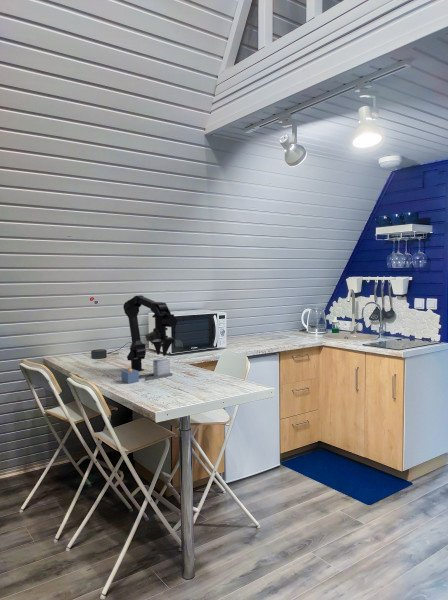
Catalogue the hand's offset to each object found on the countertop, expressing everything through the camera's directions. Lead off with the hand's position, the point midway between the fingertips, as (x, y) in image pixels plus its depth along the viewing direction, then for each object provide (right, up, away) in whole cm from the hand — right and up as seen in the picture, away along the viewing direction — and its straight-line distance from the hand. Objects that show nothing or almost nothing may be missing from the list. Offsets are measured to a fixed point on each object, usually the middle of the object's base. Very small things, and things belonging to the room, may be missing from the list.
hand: (161, 355), depth 240 cm
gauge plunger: (-14, -10, -12) cm, 21 cm away
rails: (-3, -11, -2) cm, 12 cm away
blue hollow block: (-14, -12, -12) cm, 22 cm away
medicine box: (0, -11, 0) cm, 11 cm away
